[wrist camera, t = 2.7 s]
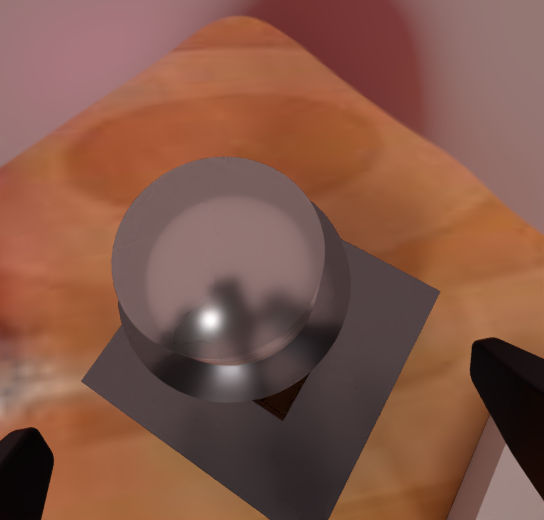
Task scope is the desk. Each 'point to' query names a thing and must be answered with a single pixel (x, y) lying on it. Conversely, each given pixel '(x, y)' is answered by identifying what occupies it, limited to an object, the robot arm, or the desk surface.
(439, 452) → the desk surface
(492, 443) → the tray
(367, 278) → the hitch block
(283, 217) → the steel pin
